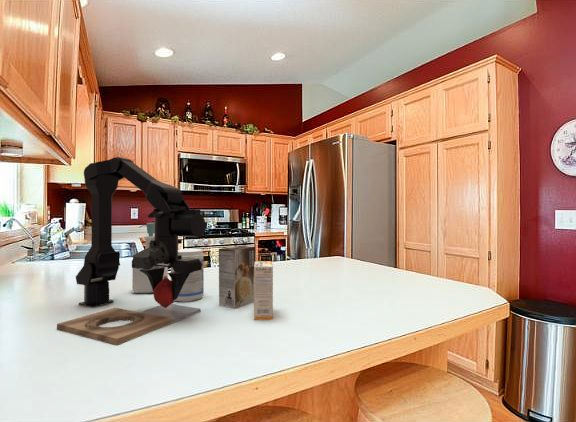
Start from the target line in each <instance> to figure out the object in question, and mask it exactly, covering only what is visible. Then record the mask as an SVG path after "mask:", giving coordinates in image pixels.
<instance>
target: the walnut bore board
mask: <svg viewBox="0 0 576 422" xmlns="http://www.w3.org/2000/svg"><path fill="white" fill-rule="evenodd" d="M119 320H123V321H129V320H130V322H128V323H126V324H125V323H124V324H122V325H117V326H101V325H104V324H107V323H108V324H109V323H112V322H119ZM171 324H173V323H172V318H168V317H163V316H157V315H152V314H147V313H141V311H135V310H130V309H124V308H119V307H112V308H109V309H104V310H102V311H97V312H94V313H91V314H87V315H83V316H81V317H77V318H76V317H75V318H72V319H70V320H66V321H63V322H59V323H56V330H58V331H61V332H65V333H70V334H74V335H78V336H80V337H84V338H85V337H86V338H89V339H92V340H97V341H100V342H104V343H108V344H111V345H116V346H118V345H120V344H121V345H122V344H124V343H127V342H129V341H132V340H133V339H134V340H135V339H136V338H139V337H142V336H144V335H147V334H149V333H151V332H153V331H156V330H159V329H161V328H163V327H166V326H168V325H171Z"/></svg>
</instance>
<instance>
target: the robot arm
mask: <svg viewBox="0 0 576 422" xmlns="http://www.w3.org/2000/svg"><path fill="white" fill-rule="evenodd" d="M83 177H84V186H85V188H86V189H87V191H88V192H89V193H90V195H91V239H90V240H91V244H90V245H91V246H90V247H89V249H88V251H87V253H86V254H85V255H84V259H83V265H82V267H81V269H80V270H79V272H78V273H77V274H76V275H75V282H76V285H80V286H84V287H83V288H84V289H83V290H84V291H83V294H84V295H83V297H84V299H83V301H82V302H78V306H79V305H80V306H83V307H88V308H96V307H99V306H102V305H103V306H104V305H107V304H111V303H115V300H114V299H111V298H110V282H109V281H116V278H117V275H118V271H119V268H120V266H121V262H120V257H121V254H120V252H119V251H116V250H115V248H114V247H113V246H112V245H113V241H112V239H113V238H112V237H113V234H112V233H113V230H112V227H113V226H112V224H113V219H112V217H113V215H112V214H113V213H112V212H113V209H112V208H113V205H112V203H113V202H112V201H113V195H114V194H115V192H116V190H117V189H118V187H119V181H121V180H123V179H125V180H127V181H128V182H130V183H131V184H132V185H133V186H135V187H136V188H137V189H139V190H140V191H142V192H143V195H145V196H144V197H145V199H146V201H147V202H148V203H149V204H150V205H151V207H152V208H153V210H152V211H151V212H150V213H149V214H148V215H147V218H149V219H154V222H153V223H154V234H153V236H154V240H150V243H149V248H147V249H145V248H144V249H141V250H140V251H139V252H136V253H135V254H133V255H132V260H131V268H132V269H133V268H136V269H139V268H141V269H140V272H143V273H144V274H145V275H147V276H148V279H149V281H150V283H151V286H152V289H153V292H154V289H155V287H156V286H157V285H158V283H160V282H161V281H162V280H163V275H164V269H165V267H168V268H170V269H171V268H173V270H174V272H171V271H170V272H168V277H170V279H171V278H172V295H173V299H177V298H178V296H179V293H180V291H181V289H182V287H183V285H184V283H185V281H186V279H187V278H188V276H189V274H190V273H193V272H194V271H199V270H202V262H201V261H200V259H194V258H186V259H182V255H178V250H179V244H180V245H181V244H182V243H183V242H182V241H183V240H182V239H180V238H179V237H187V238H201V237H202V236H204V234H205V231H206V229H207V222H206V221H205V217H204V216H203V215H202V213H201V209H200V208H197V209H196V208H192V209H191V208H190V207H189V204H188V203H187V202H186V200H185V198H184V197H183V192H182V190H181V189H180V188H178V187H176V186H174V185H172V184H168V183H166V182H162V181H160V180H158V179H156V178H155V177H154V176H152V175H151V174H150V173H148V172H147V171H146V170H144V169H143V168H141V167H140V166H138V165H137V164H136V163H135V162H134V161H133V160H131V159H130V158H124V157H119V156H114V157H112V158H110V159H106V160H100V161H95V162H90V163H89V164H88V165H87V166H86V167H85V168H84V170H83ZM159 266H160V267H159Z"/></svg>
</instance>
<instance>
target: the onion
mask: <svg viewBox="0 0 576 422" xmlns="http://www.w3.org/2000/svg"><path fill="white" fill-rule="evenodd" d="M153 299H154V300H155V303H157V304H158V305H159V306H160V305H161V306H162V307H164V308H167V307H168V306H169V305H171V304H173V303H174V302H176V301H175V300H176V299H173V295H172V281H171V279H169V278H167V276H164V278H163V280H162V281H161V282H160V283H158V285H157V286H156V287H155V289H154V293H153Z"/></svg>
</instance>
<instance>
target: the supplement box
mask: <svg viewBox="0 0 576 422" xmlns="http://www.w3.org/2000/svg"><path fill="white" fill-rule="evenodd" d="M273 298H274V266H273V262H272V261H271V260H270V261H267V260H266V261H265V260H263V261H261V260H260V261H259V260H258V261H256V260H255V263H254V302H253V312H254V313H253V314H254V316H253V317H254V320H255V321H256V320H257V321H259V320H260V321H262V320H273V319H274V299H273Z"/></svg>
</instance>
